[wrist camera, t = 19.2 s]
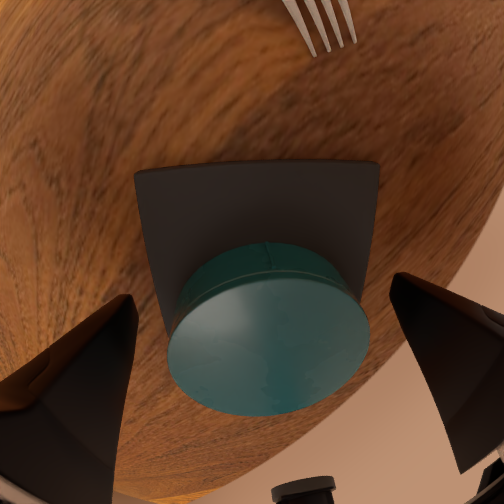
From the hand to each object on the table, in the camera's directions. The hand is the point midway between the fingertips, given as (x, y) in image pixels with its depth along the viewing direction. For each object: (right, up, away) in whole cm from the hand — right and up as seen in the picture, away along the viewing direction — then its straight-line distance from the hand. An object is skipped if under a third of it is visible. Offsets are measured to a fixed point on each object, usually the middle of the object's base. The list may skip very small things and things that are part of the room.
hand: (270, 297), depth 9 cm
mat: (0, +1, +2) cm, 2 cm away
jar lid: (0, -2, 0) cm, 2 cm away
